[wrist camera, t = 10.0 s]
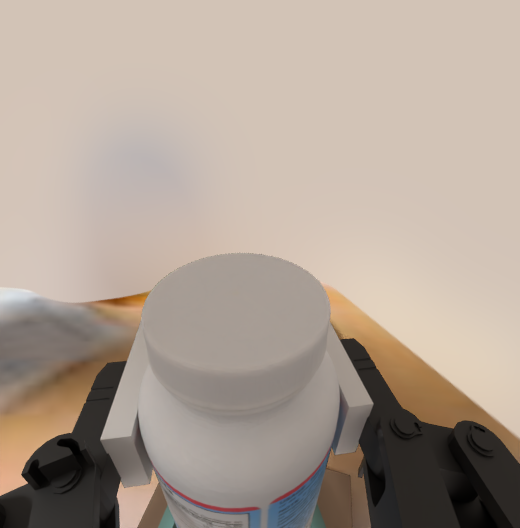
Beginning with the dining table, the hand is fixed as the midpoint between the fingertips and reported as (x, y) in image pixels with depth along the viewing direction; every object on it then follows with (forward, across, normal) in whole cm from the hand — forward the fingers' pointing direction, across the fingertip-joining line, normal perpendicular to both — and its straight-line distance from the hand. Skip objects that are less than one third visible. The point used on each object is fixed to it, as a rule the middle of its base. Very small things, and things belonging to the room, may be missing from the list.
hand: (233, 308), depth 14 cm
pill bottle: (-5, 0, -7) cm, 8 cm away
